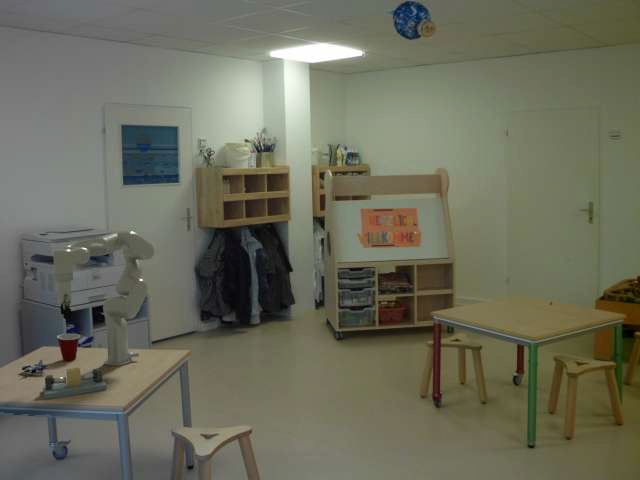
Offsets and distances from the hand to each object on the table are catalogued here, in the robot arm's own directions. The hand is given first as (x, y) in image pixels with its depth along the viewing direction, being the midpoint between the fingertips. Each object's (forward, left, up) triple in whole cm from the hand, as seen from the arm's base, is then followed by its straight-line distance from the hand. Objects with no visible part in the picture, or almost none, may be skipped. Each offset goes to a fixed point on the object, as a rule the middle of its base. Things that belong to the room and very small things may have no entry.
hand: (66, 316), depth 301 cm
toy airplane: (+14, -16, -29) cm, 36 cm away
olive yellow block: (0, +18, -26) cm, 32 cm away
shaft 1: (+7, +17, -26) cm, 32 cm away
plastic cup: (-4, -33, -28) cm, 44 cm away
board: (0, +18, -28) cm, 34 cm away
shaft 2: (-7, +17, -26) cm, 32 cm away
